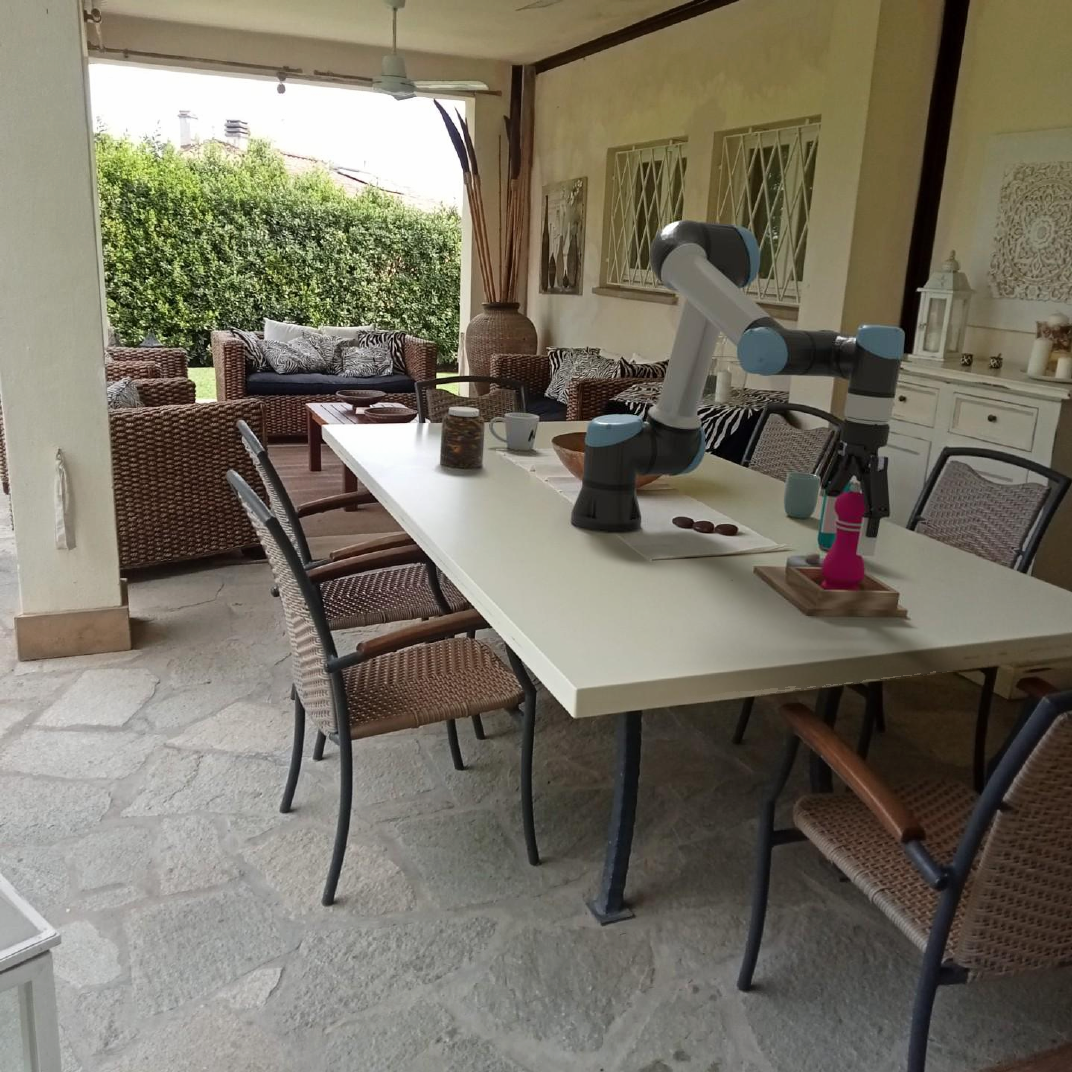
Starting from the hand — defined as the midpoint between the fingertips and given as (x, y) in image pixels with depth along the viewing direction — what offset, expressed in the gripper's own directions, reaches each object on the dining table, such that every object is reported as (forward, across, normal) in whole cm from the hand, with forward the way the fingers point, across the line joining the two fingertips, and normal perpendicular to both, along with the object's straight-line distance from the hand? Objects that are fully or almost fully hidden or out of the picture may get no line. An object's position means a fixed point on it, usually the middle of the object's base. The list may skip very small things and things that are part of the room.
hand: (846, 543), depth 170 cm
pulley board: (+11, +5, 0) cm, 12 cm away
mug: (+13, +140, +38) cm, 145 cm away
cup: (+11, +63, -20) cm, 67 cm away
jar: (+12, +111, +56) cm, 125 cm away
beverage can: (+11, +35, -15) cm, 39 cm away
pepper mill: (+9, 0, 0) cm, 10 cm away
